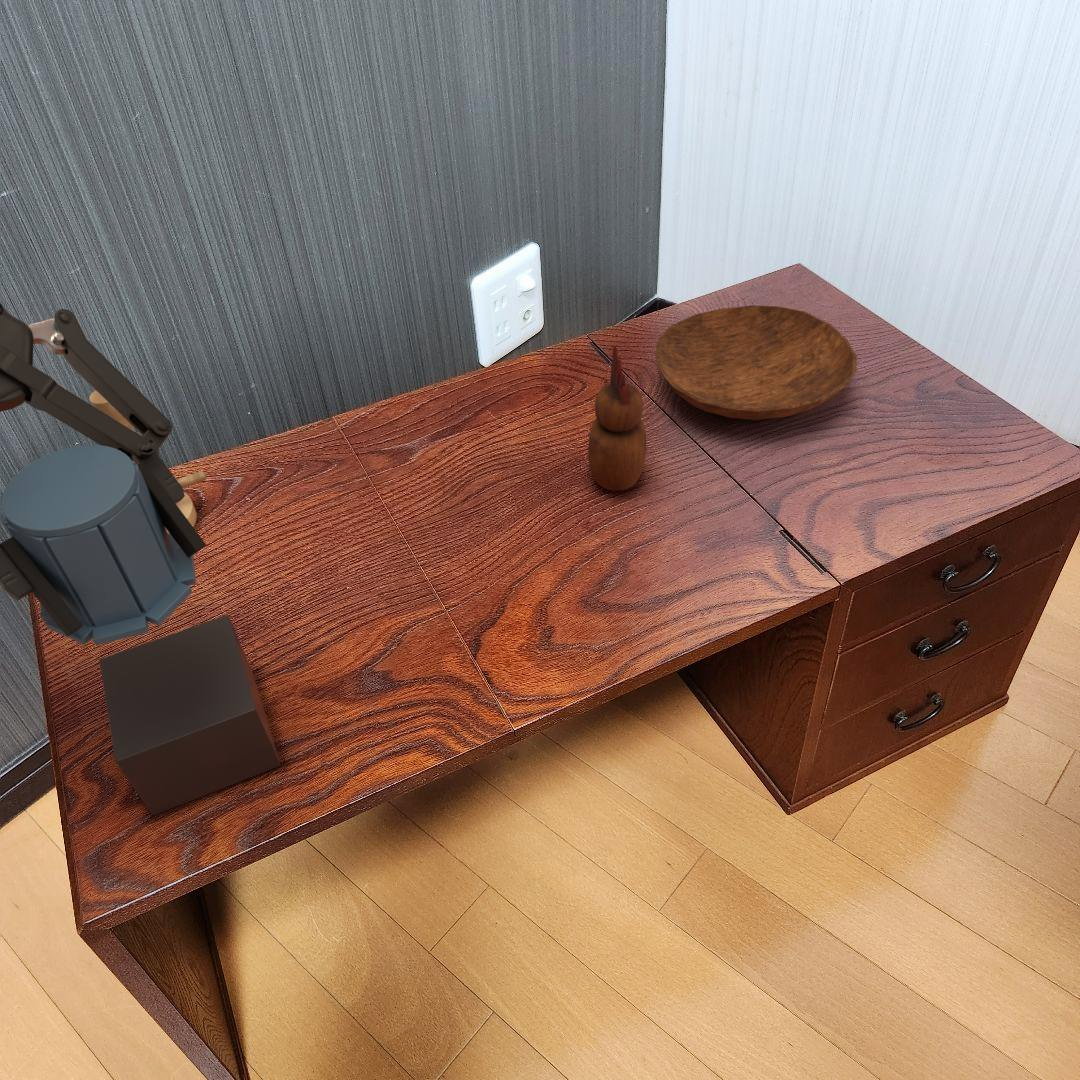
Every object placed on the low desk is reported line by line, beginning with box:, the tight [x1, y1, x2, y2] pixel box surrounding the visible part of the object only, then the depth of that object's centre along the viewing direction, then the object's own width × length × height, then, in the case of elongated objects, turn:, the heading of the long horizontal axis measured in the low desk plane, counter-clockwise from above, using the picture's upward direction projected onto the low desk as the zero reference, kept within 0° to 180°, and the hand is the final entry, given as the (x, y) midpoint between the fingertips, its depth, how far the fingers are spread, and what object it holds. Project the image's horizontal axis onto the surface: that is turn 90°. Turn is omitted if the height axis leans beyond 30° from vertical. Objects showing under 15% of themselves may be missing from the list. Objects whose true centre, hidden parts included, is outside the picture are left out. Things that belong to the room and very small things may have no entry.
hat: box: [0, 444, 197, 647], centre depth 59 cm, size 10×10×9 cm
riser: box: [99, 614, 282, 817], centre depth 73 cm, size 10×10×8 cm
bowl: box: [654, 304, 858, 421], centre depth 104 cm, size 20×22×5 cm
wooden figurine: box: [587, 344, 647, 492], centre depth 91 cm, size 7×6×15 cm
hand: (138, 589), depth 59 cm, fingers closed on hat, 8 cm apart
